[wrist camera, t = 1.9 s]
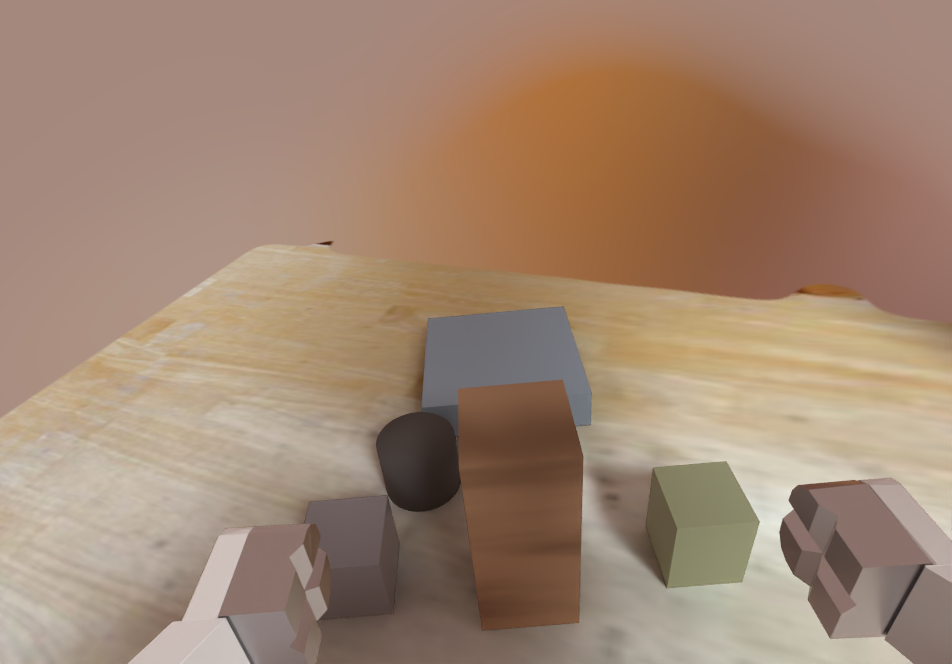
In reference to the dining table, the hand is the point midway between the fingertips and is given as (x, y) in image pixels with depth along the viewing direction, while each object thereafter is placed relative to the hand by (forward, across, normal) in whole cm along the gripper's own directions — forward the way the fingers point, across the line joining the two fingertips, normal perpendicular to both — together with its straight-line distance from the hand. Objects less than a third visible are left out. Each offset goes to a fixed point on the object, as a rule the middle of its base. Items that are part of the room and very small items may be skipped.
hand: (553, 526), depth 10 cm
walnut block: (+12, 0, +20) cm, 24 cm away
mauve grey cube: (+14, +9, +20) cm, 26 cm away
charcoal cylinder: (+20, +6, +20) cm, 29 cm away
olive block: (+14, -10, +20) cm, 26 cm away
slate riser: (+30, 0, +20) cm, 37 cm away
